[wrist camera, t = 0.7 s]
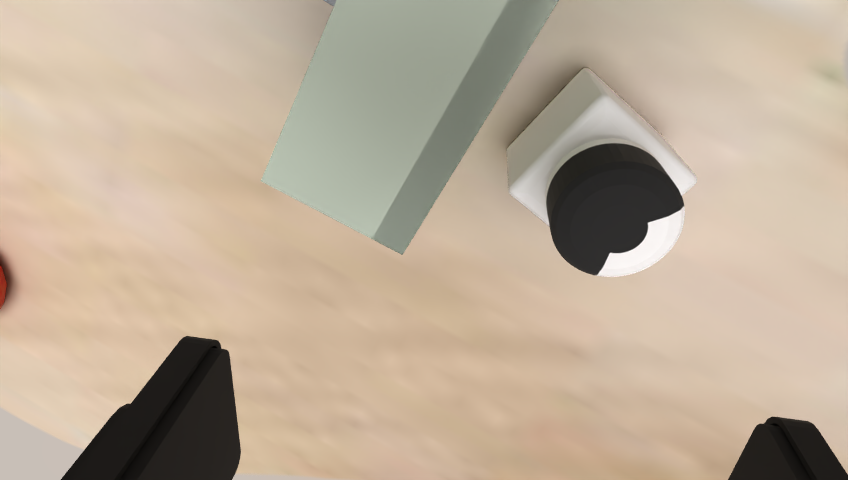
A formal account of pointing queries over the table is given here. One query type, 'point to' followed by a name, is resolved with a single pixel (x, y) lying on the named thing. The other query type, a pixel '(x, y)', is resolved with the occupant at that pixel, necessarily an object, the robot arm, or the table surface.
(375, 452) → the table surface
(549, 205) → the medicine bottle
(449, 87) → the pale green rectangular block
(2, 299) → the apple
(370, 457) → the table surface
